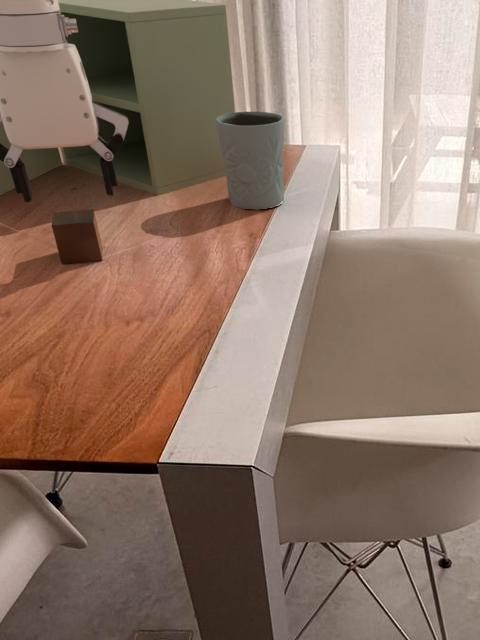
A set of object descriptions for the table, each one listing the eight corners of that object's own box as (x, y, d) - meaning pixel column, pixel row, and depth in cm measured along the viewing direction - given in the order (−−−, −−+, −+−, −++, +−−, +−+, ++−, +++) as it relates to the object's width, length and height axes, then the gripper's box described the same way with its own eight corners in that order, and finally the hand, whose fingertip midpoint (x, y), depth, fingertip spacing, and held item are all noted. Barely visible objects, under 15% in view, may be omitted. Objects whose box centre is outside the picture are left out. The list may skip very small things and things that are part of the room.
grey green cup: (243, 216, 103) (235, 128, 95) (213, 198, 109) (203, 114, 101) (300, 204, 108) (297, 120, 100) (268, 188, 114) (263, 107, 106)
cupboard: (158, 196, 109) (128, 12, 94) (64, 164, 122) (23, -3, 106) (240, 172, 120) (225, 4, 105) (146, 145, 133) (120, -9, 117)
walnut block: (61, 264, 88) (51, 225, 84) (63, 250, 91) (53, 212, 88) (102, 260, 89) (93, 222, 85) (102, 246, 92) (93, 209, 89)
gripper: (110, 26, 79) (140, 181, 90) (-53, 30, 75) (-1, 192, 86) (111, 34, 73) (143, 199, 84) (-65, 39, 69) (-8, 211, 80)
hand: (70, 195), depth 85 cm, fingers open, 9 cm apart
